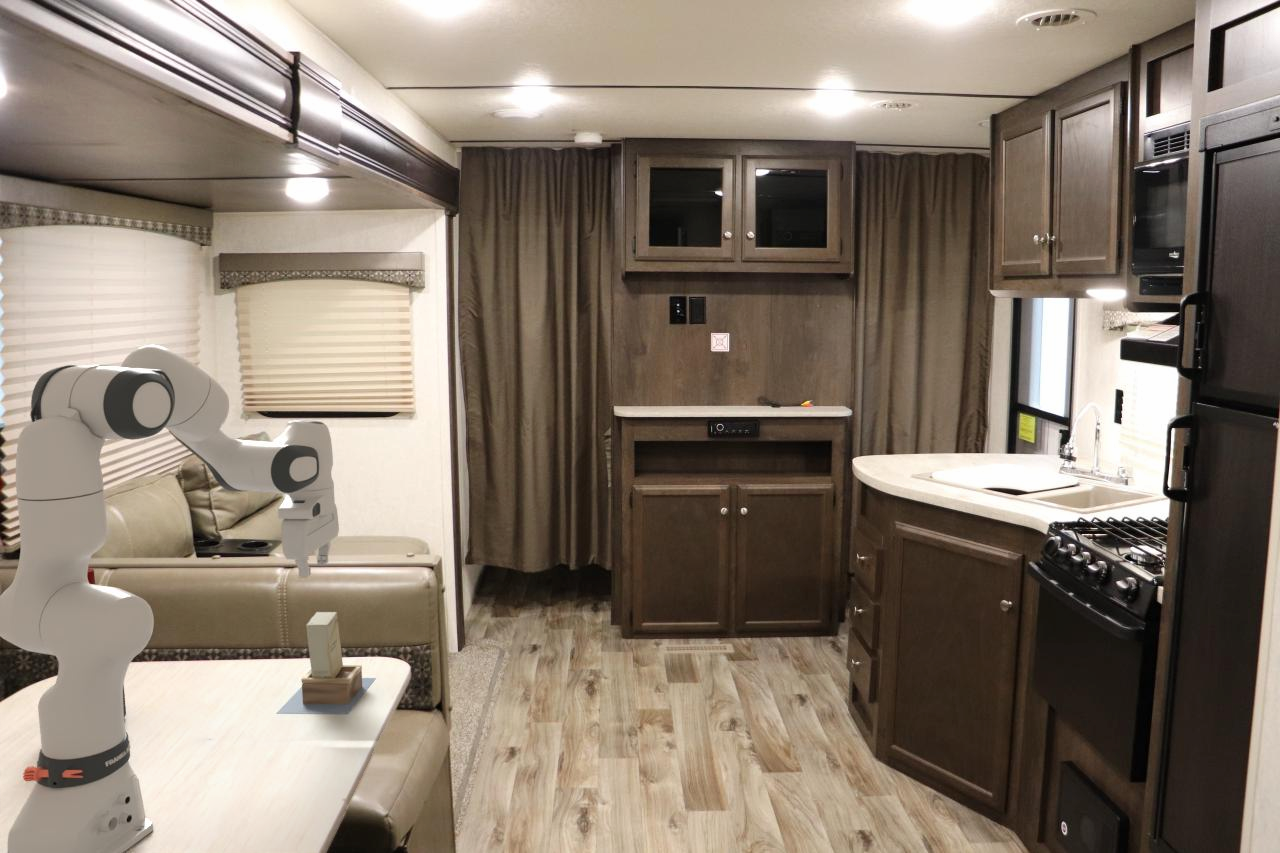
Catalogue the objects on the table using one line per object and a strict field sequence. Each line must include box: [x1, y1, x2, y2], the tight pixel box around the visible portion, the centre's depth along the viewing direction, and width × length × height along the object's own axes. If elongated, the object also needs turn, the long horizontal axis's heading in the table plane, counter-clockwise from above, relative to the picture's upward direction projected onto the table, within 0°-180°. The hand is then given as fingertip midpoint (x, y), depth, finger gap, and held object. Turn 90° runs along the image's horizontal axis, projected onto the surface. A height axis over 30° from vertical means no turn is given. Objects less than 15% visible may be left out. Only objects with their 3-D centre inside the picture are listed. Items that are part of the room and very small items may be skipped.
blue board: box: [276, 677, 377, 715], centre depth 202 cm, size 18×14×1 cm
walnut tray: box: [301, 664, 363, 704], centre depth 201 cm, size 9×10×5 cm
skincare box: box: [305, 611, 344, 678], centre depth 200 cm, size 6×4×12 cm
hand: (314, 570), depth 198 cm, fingers open, 8 cm apart
